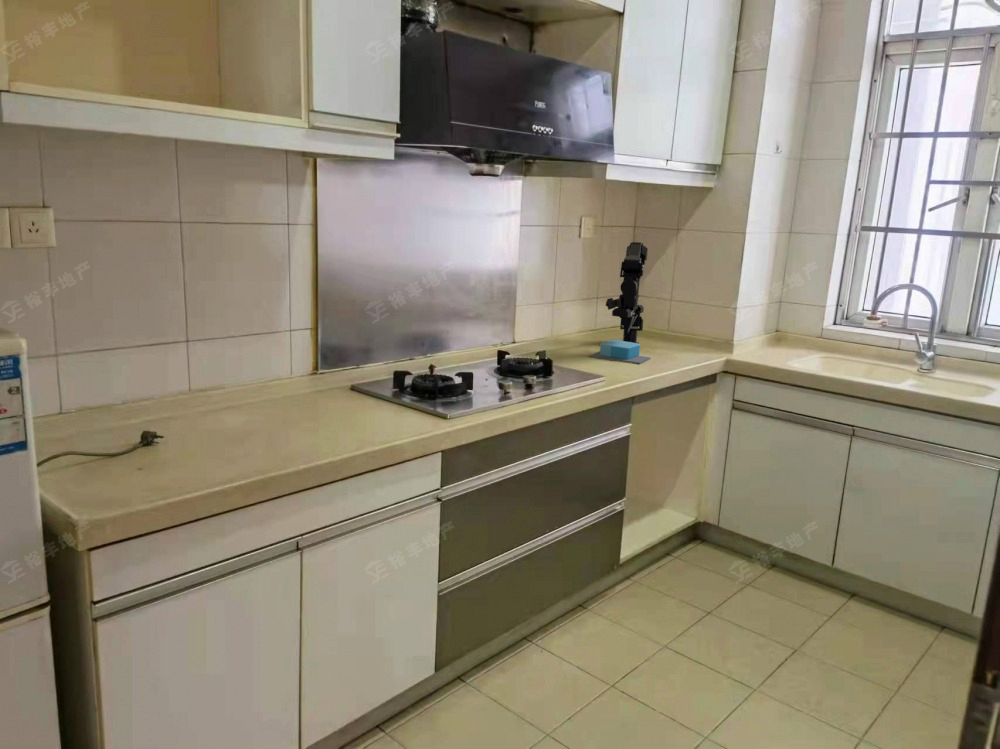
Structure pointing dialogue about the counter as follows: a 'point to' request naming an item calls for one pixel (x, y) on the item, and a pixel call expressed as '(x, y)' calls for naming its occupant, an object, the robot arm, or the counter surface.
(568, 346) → the counter surface
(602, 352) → the light blue flat block
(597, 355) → the mat
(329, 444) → the counter surface
